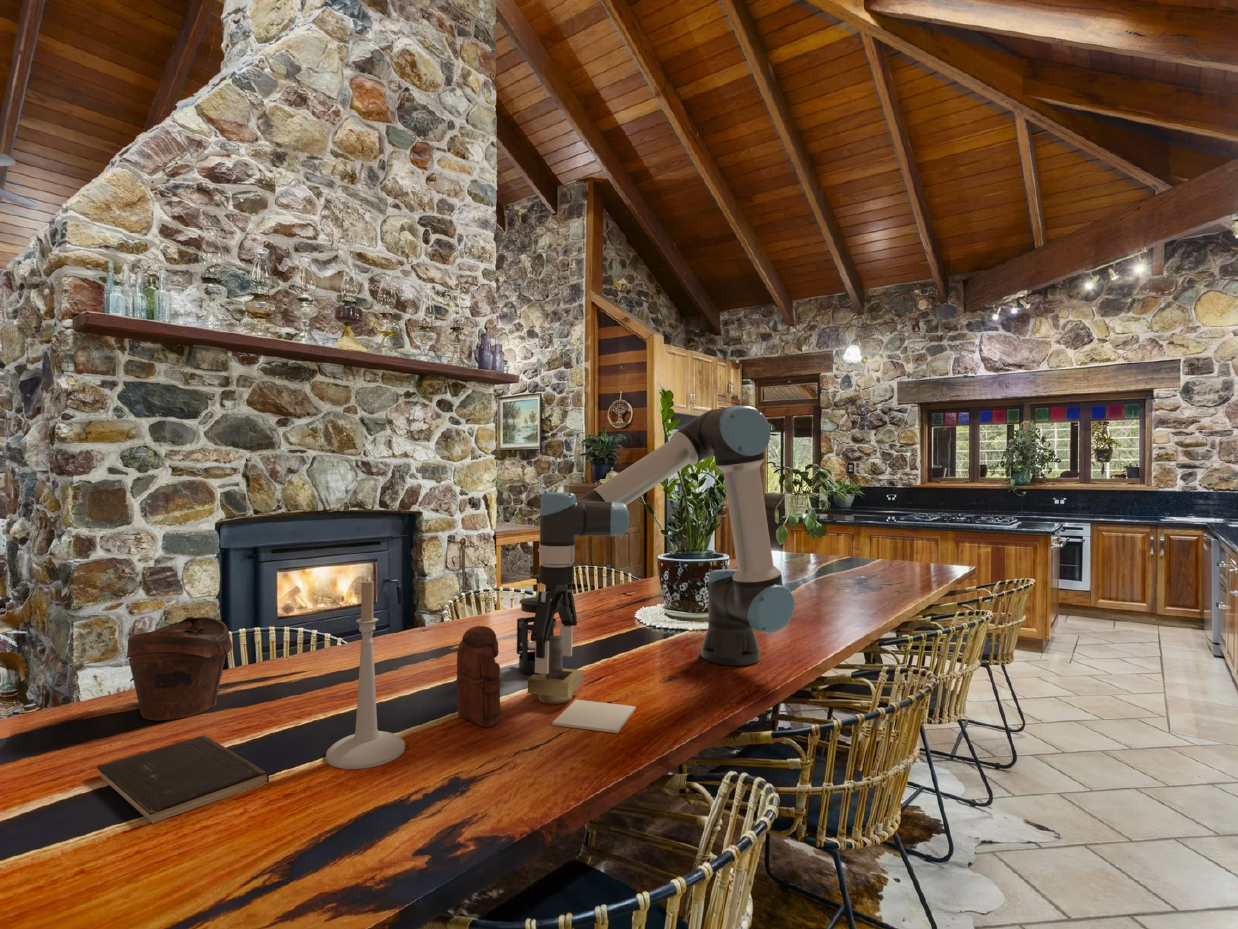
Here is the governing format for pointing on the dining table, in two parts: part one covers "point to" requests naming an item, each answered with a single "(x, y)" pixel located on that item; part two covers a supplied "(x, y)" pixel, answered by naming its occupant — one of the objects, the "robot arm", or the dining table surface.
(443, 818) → the dining table surface
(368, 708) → the candlestick
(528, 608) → the french press
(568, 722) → the felt mat
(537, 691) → the brass C-link
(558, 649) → the peg stand
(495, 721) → the wooden figurine
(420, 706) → the dining table surface
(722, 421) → the robot arm
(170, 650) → the case
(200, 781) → the hardcover book
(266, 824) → the dining table surface
